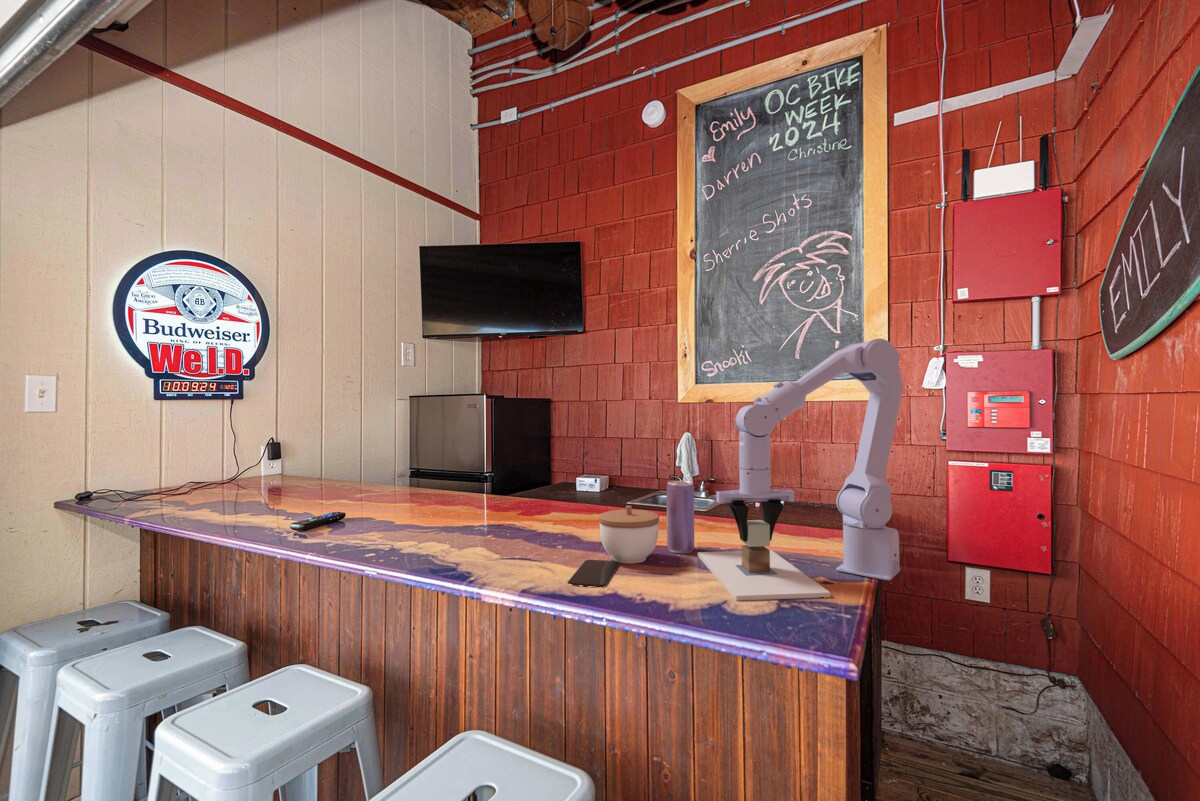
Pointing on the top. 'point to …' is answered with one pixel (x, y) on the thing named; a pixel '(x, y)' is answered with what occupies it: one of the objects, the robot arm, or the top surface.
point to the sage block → (757, 533)
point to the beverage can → (680, 516)
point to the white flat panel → (761, 578)
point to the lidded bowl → (629, 534)
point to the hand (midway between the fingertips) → (755, 539)
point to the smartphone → (594, 573)
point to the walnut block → (755, 559)
